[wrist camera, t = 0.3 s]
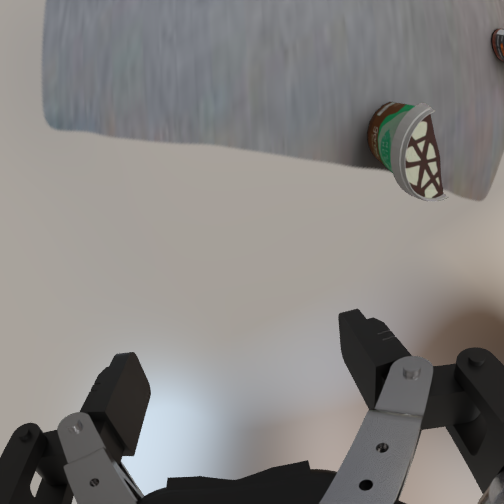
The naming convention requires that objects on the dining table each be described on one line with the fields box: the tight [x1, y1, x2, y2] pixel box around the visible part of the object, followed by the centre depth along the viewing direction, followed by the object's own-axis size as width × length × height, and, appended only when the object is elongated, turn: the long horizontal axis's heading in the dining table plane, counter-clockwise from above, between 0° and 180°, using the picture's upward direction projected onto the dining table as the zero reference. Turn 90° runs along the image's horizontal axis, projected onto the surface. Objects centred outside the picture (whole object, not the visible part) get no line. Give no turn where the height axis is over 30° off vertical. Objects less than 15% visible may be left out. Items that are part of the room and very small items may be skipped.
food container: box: [367, 102, 448, 201], centre depth 35 cm, size 12×6×10 cm, turn 25°
